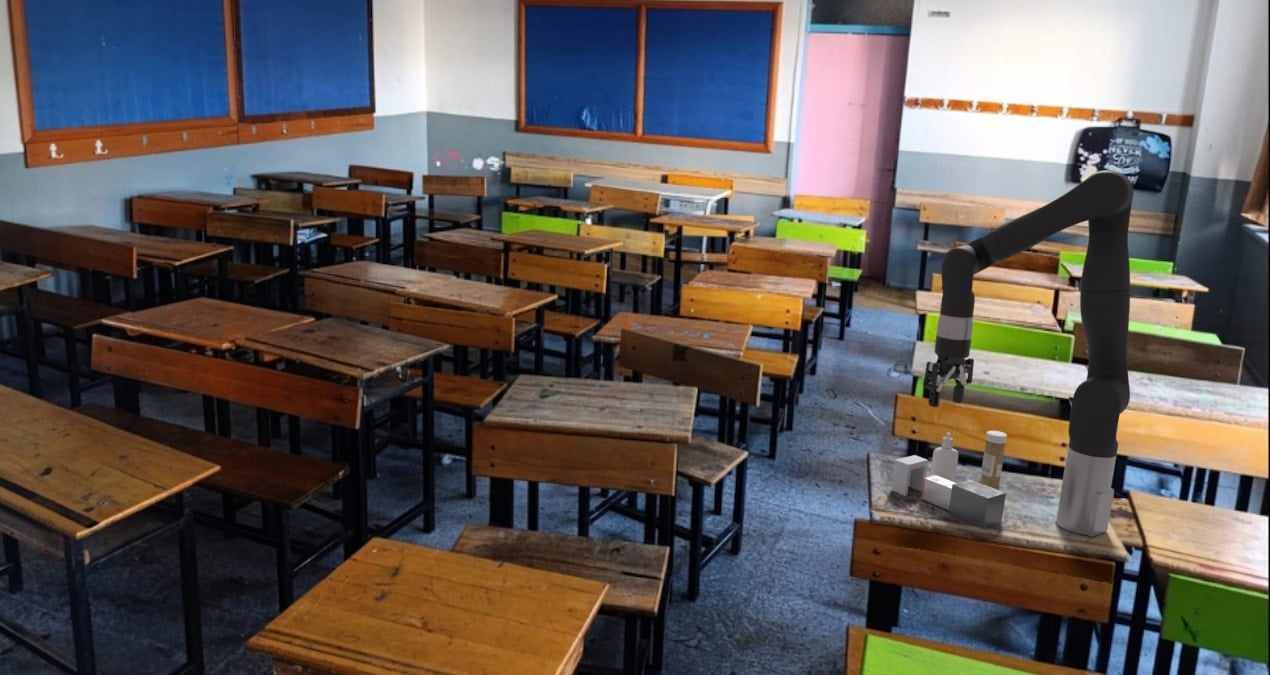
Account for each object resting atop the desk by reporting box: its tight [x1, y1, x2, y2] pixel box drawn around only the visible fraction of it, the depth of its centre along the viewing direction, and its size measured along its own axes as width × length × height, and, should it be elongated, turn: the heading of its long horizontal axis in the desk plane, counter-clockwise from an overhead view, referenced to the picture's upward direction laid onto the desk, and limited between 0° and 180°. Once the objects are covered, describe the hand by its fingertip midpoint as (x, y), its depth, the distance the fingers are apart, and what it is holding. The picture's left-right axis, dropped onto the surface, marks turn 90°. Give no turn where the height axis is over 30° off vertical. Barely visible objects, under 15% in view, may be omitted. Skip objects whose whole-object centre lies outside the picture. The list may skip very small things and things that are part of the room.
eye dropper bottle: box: [929, 432, 959, 483], centre depth 225 cm, size 4×6×12 cm
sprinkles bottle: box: [979, 430, 1008, 490], centre depth 223 cm, size 5×5×14 cm
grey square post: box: [920, 475, 957, 511], centre depth 208 cm, size 16×4×5 cm, turn 36°
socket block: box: [891, 454, 929, 497], centre depth 218 cm, size 4×7×8 cm, turn 126°
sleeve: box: [947, 479, 1007, 530], centre depth 204 cm, size 9×6×7 cm
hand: (945, 404), depth 217 cm, fingers open, 8 cm apart
